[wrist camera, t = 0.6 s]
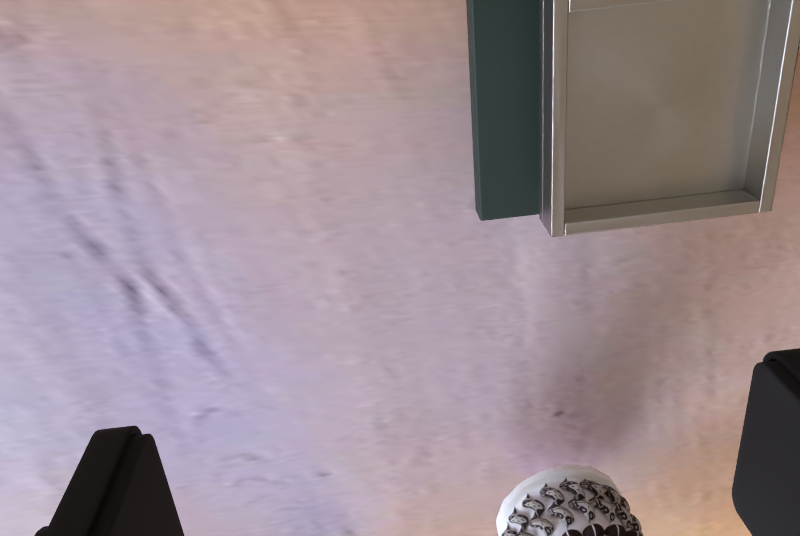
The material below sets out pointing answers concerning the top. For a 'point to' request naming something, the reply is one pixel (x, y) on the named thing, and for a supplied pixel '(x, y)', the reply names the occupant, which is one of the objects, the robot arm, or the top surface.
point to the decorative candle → (567, 506)
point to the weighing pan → (661, 109)
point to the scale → (505, 105)
